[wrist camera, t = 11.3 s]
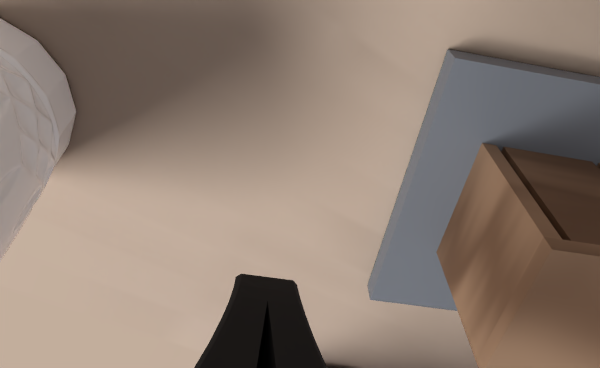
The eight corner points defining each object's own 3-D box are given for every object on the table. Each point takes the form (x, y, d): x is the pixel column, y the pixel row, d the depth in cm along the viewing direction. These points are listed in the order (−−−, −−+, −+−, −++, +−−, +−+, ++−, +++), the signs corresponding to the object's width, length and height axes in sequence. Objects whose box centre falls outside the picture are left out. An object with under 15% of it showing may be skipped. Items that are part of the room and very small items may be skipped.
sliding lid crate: (552, 268, 25) (630, 392, 19) (436, 252, 24) (481, 375, 18) (612, 164, 22) (725, 274, 16) (481, 142, 21) (552, 249, 15)
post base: (556, 309, 27) (605, 394, 23) (367, 285, 26) (382, 369, 22) (688, 93, 21) (788, 154, 17) (447, 49, 20) (490, 102, 16)
